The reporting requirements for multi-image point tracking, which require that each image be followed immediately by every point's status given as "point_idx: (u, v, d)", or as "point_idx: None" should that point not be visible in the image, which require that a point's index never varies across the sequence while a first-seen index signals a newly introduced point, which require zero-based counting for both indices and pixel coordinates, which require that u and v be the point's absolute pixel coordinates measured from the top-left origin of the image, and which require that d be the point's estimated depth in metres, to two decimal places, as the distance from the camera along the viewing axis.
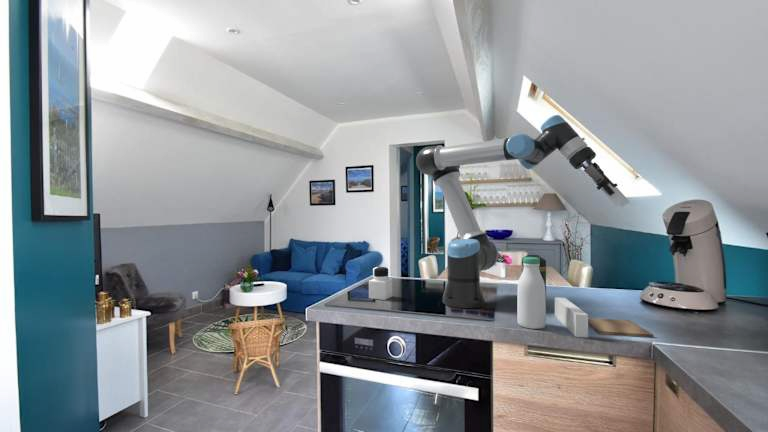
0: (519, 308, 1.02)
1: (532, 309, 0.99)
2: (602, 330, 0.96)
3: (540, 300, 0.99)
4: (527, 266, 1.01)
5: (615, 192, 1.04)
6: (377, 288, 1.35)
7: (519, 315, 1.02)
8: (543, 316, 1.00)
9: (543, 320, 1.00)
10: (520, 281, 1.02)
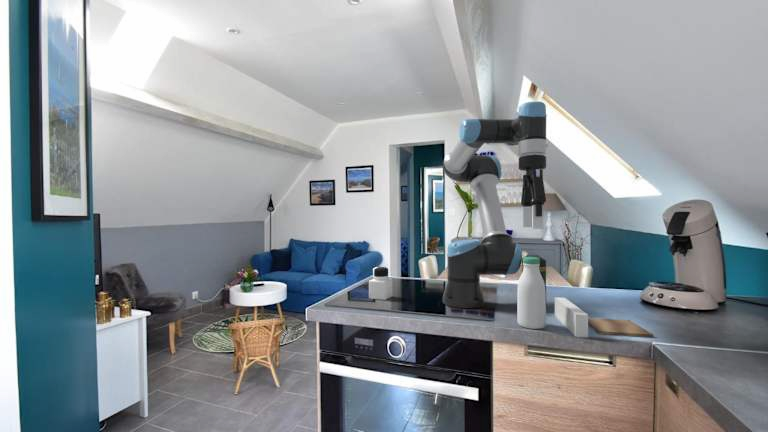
0: (519, 308, 1.02)
1: (532, 309, 0.99)
2: (602, 330, 0.96)
3: (540, 300, 0.99)
4: (527, 266, 1.01)
5: None
6: (377, 288, 1.35)
7: (519, 315, 1.02)
8: (543, 316, 1.00)
9: (543, 320, 1.00)
10: (520, 281, 1.02)
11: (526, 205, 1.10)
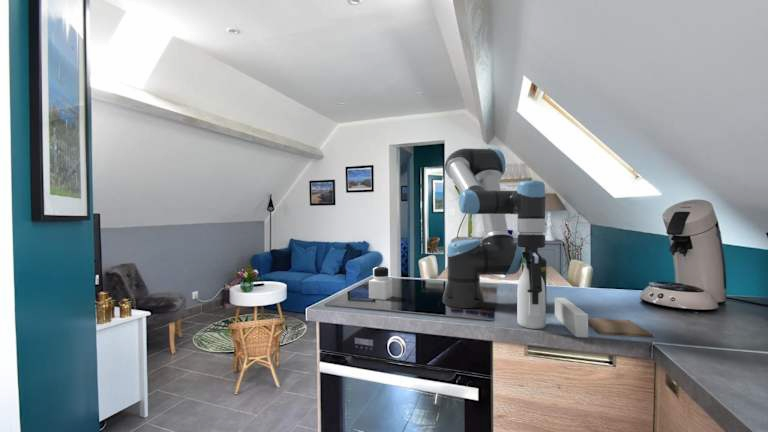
0: (519, 308, 1.02)
1: None
2: (602, 330, 0.96)
3: (540, 300, 0.99)
4: None
5: (538, 303, 0.98)
6: (377, 288, 1.35)
7: (519, 315, 1.02)
8: (543, 316, 1.00)
9: (543, 320, 1.00)
10: (520, 281, 1.02)
11: None
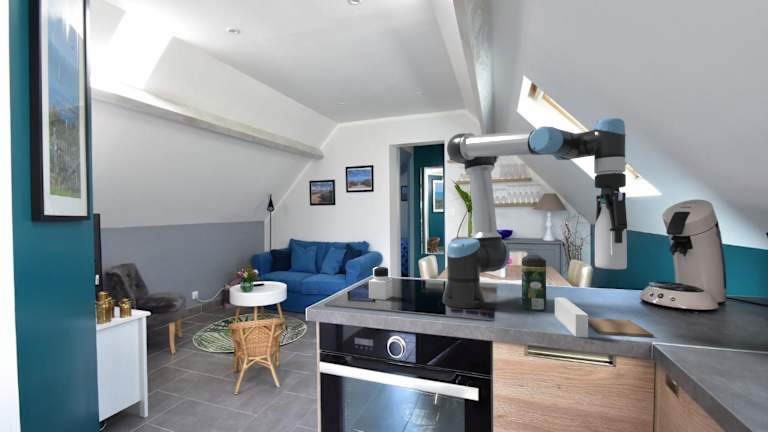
0: (598, 250, 0.99)
1: None
2: (602, 330, 0.96)
3: None
4: None
5: (621, 242, 0.95)
6: (377, 288, 1.35)
7: (598, 257, 0.99)
8: (625, 256, 0.97)
9: (625, 260, 0.97)
10: (599, 222, 1.00)
11: None
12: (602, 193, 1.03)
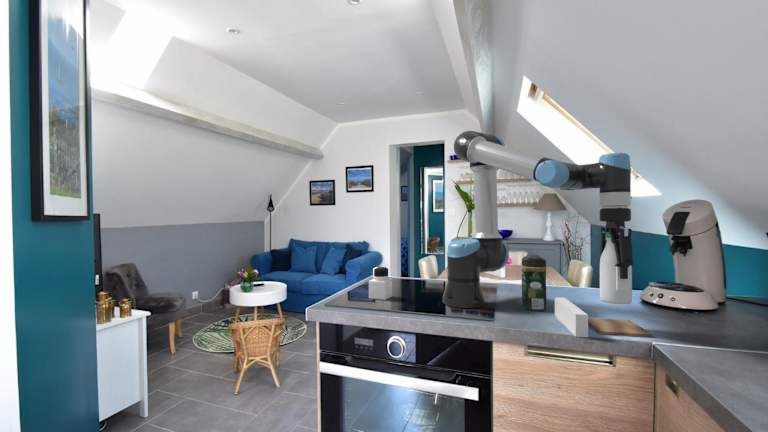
0: (603, 284, 0.99)
1: None
2: (602, 330, 0.96)
3: None
4: None
5: None
6: (377, 288, 1.35)
7: (603, 291, 0.99)
8: (630, 291, 0.97)
9: (630, 295, 0.97)
10: (604, 256, 1.00)
11: None
12: (607, 226, 1.03)
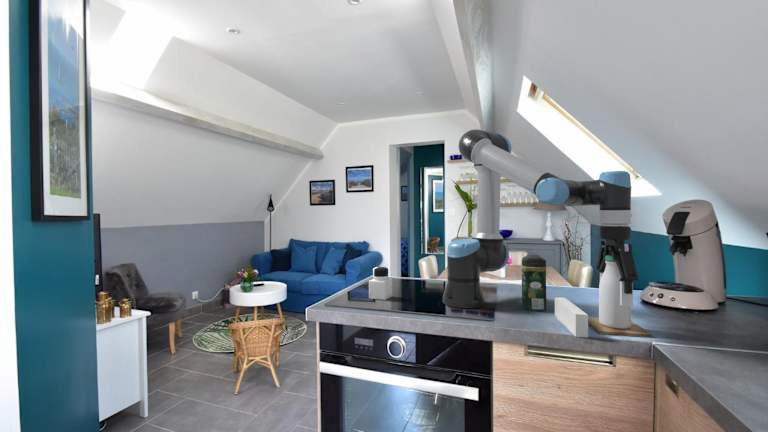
0: (603, 307, 0.99)
1: (619, 309, 0.97)
2: (602, 330, 0.96)
3: None
4: (611, 264, 0.99)
5: None
6: (377, 288, 1.35)
7: (603, 315, 0.99)
8: (629, 316, 0.97)
9: (629, 320, 0.97)
10: (603, 280, 1.00)
11: None
12: (607, 244, 1.03)
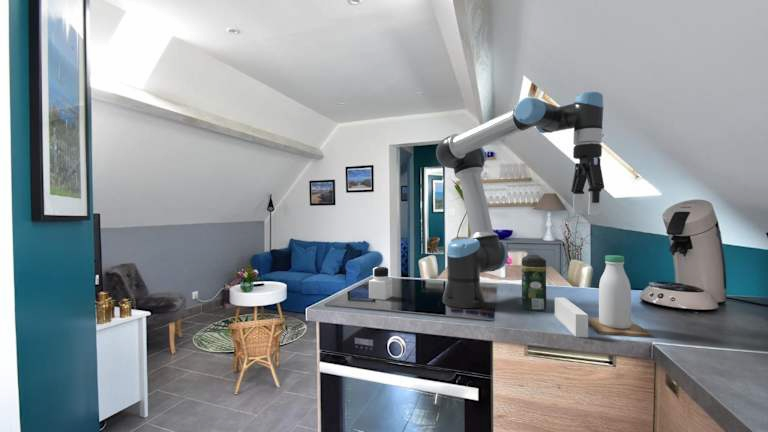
0: (603, 307, 0.99)
1: (619, 309, 0.97)
2: (602, 330, 0.96)
3: (627, 300, 0.97)
4: (611, 264, 0.99)
5: (598, 202, 1.00)
6: (377, 288, 1.35)
7: (603, 315, 0.99)
8: (629, 316, 0.97)
9: (629, 320, 0.97)
10: (603, 280, 1.00)
11: (577, 193, 1.14)
12: (580, 164, 1.09)
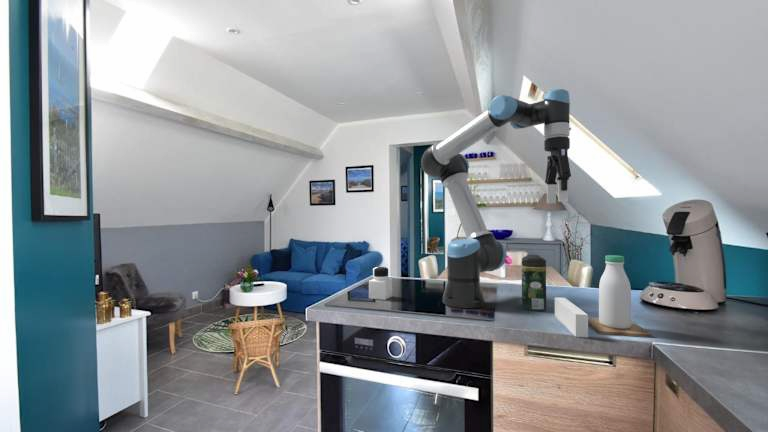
0: (603, 307, 0.99)
1: (619, 309, 0.97)
2: (602, 330, 0.96)
3: (627, 300, 0.97)
4: (611, 264, 0.99)
5: (566, 190, 1.08)
6: (377, 288, 1.35)
7: (603, 315, 0.99)
8: (629, 316, 0.97)
9: (629, 320, 0.97)
10: (603, 280, 1.00)
11: (550, 183, 1.22)
12: None
